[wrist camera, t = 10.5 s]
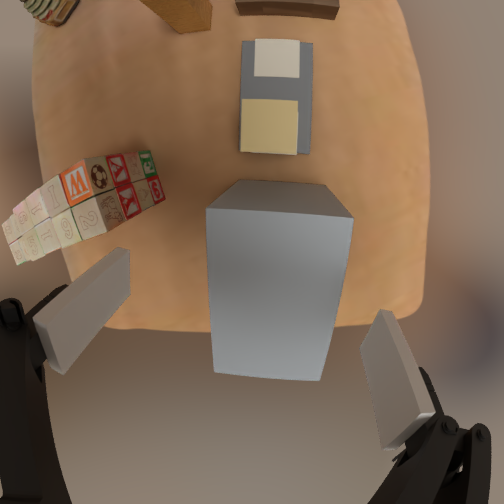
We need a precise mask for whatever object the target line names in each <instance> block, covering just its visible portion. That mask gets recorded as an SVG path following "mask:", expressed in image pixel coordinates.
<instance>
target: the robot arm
mask: <svg viewBox="0 0 504 504" xmlns="http://www.w3.org/2000/svg"><path fill="white" fill-rule="evenodd" d="M129 295H130V250H127V249H123V248H120V247H117V248H116V249H114V250H113V251H112V252H110V253H109V254H108V255H106V256H105V257H104V258H102V259H101V260H100V261H99V262H97V263H96V264H95V265H94V266H92V267H91V268H90V269H88V270H87V271H86V272H85V273H83V274H82V275H81V276H80V277H79V278H77V279H76V280H75V281H74V282H72V283H71V284H70V285H66V284H65V285H62V286H60V287H58V288H56V289H55V290H53V291H52V292H51V293H50V294H49V296H48V295H47V296H46V297H45V298H44V299H43V300H42V301H40V302H39V303H38V304H37V305H36V306H35V307H33V308H32V309H31V310H30V311H29V312H28V313H27V314H26V315H25V314H24V310H23V307H22V304H21V302H20V301H19V300H17V299H15V298H8V299H4V300H3V301H1V302H0V479H1V484H2V489H3V496H2V497H1V498H0V504H72V502H71V500H70V496H69V494H68V491H67V488H66V484H65V481H64V478H63V475H62V471H61V468H60V464H59V460H58V456H57V452H56V448H55V443H54V438H53V433H52V428H51V422H50V416H49V409H48V402H47V393H46V383H45V369H44V365H43V362H44V361H45V360H46V359H47V360H48V362H49V365H50V367H51V368H52V369H54V370H56V371H57V372H59V373H61V374H62V375H64V374H65V373H66V372H67V370H68V369H69V368H70V366H71V365H72V364H73V363H74V361H75V360H76V359H77V357H78V356H79V355H80V354H81V352H82V351H83V350H84V349H85V347H86V346H87V345H88V344H89V342H90V341H91V340H92V339H93V338H94V336H95V335H96V334H97V333H98V332H99V330H100V329H101V328H102V327H103V326H104V324H105V323H106V322H107V321H108V320H109V319H110V317H111V316H112V315H113V314H114V313H115V312H116V310H117V309H118V308H119V307H120V306H121V305H122V303H123V302H124V301H125V300H126V299H127V298H128V297H129ZM359 349H360V353H361V357H362V361H363V365H364V369H365V373H366V377H367V381H368V385H369V389H370V394H371V398H372V403H373V407H374V412H375V416H376V422H377V427H378V432H379V437H380V443H381V448H382V450H393V449H397V448H398V447H400V446H401V445H402V444H403V443H404V442H405V445H406V449H405V450H403V451H402V452H401V453H400V454H398V455H397V456H396V457H395V458H394V459H393V460H392V461H393V462H394V461H395V460H396V459H397V461H396V463H395V464H394V466H393V468H392V470H391V471H390V472H389V474H388V476H387V477H386V478H385V480H384V482H383V483H382V485H381V486H380V487H379V489H378V490H377V491H376V493H375V494H374V496H373V497H372V498H371V500H370V501H369V502H368V504H488V499H489V490H490V478H491V434H490V432H489V429H488V428H487V427H486V426H485V425H483V424H481V423H477V424H475V425H474V426H473V427H472V428H471V429H470V430H467V429H462V428H459V425H458V423H457V422H456V420H454V419H453V418H452V417H450V416H445V415H444V412H443V410H442V407H441V405H440V402H439V400H438V397H437V395H436V392H434V391H435V390H434V387H433V385H432V383H431V380H430V378H429V376H428V374H427V373H426V372H425V371H424V369H423V368H422V367H418V366H417V364H416V361H415V359H414V357H413V355H412V352H411V350H410V348H409V346H408V344H407V341H406V339H405V337H404V335H403V333H402V331H401V329H400V327H399V325H398V322H397V320H396V318H395V316H394V314H393V312H392V311H387V310H382V309H380V310H379V312H378V314H377V316H376V318H375V320H374V322H373V324H372V326H371V328H370V330H369V331H368V333H367V335H366V337H365V339H364V341H363V343H362V344H361V346H360V348H359ZM462 465H463V468H462V471H461V472H459V468H460V467H461V466H462Z"/></svg>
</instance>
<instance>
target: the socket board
mask: <svg viewBox="0 0 504 504" xmlns="http://www.w3.org/2000/svg"><path fill="white" fill-rule="evenodd" d="M235 3H236V5H237V8H238V10H239V12H240V15H241V16H243V15H284V16H301V17H313V18H322V19H330V20H335V17H336V15H337V12H338V10H339V7H340V6H339V0H235Z"/></svg>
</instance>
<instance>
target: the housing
mask: <svg viewBox="0 0 504 504" xmlns="http://www.w3.org/2000/svg"><path fill="white" fill-rule="evenodd" d="M353 222H354V218H353V216H352V215H351V214H350V213H349V212H348V210H347V209H346V208H345V207H344V206H343V205H342V203H341V202H340V201H339V200H338V199H337V198H336V197H335V195H334V194H333V193H332V192H331V191H330V190H329V189H328V187H327V186H326V185H318V184H307V183H294V182H279V181H261V180H239V181H237V182H236V183H235V184H234V185H232V186H231V187H230V188H229V189H228V190H226V191H225V192H224V193H223V194H222V195H221V196H219V197H218V198H217V199H216V200H215V201H213V202H212V203H211V204H210V205H209V206H208V207H207V208H206V241H207V268H208V290H209V308H210V323H211V338H212V351H213V362H214V372H219V373H226V374H235V375H243V376H252V377H262V378H275V379H288V380H309V381H319V380H320V377H321V374H322V370H323V367H324V363H325V359H326V356H327V352H328V348H329V344H330V340H331V336H332V332H333V328H334V324H335V320H336V315H337V311H338V306H339V302H340V297H341V292H342V287H343V282H344V277H345V272H346V266H347V261H348V255H349V249H350V243H351V236H352V229H353Z"/></svg>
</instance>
